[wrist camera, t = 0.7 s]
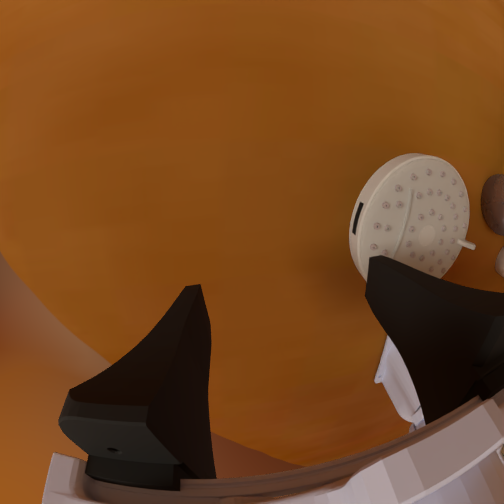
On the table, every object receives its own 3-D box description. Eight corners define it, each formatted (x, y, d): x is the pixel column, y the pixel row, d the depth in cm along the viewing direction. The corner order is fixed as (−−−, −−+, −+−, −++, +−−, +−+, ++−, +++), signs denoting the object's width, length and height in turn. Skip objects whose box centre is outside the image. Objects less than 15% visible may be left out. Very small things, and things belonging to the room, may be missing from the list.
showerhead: (452, 305, 16) (343, 307, 15) (406, 261, 23) (308, 251, 21) (496, 185, 12) (392, 136, 11) (434, 163, 19) (335, 129, 17)
